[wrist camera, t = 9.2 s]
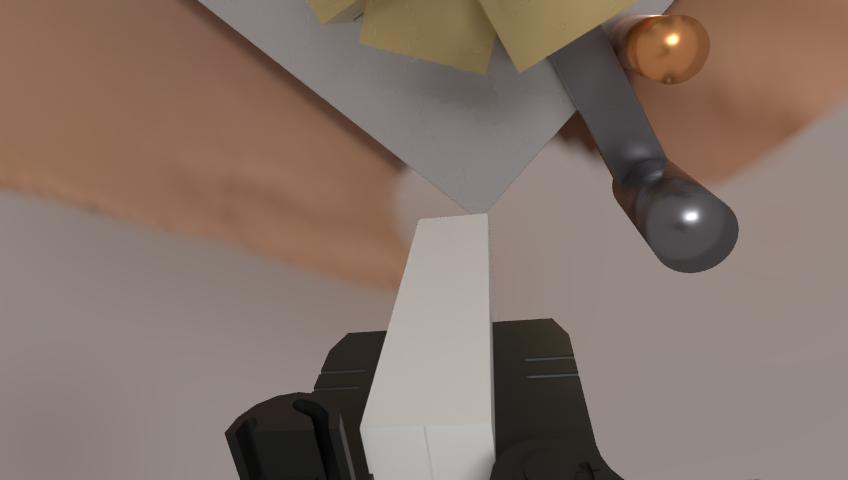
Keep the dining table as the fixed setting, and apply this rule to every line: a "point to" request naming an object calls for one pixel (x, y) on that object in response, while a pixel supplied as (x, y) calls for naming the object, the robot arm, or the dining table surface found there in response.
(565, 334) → the robot arm
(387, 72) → the cap plate
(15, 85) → the dining table surface
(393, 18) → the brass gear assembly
